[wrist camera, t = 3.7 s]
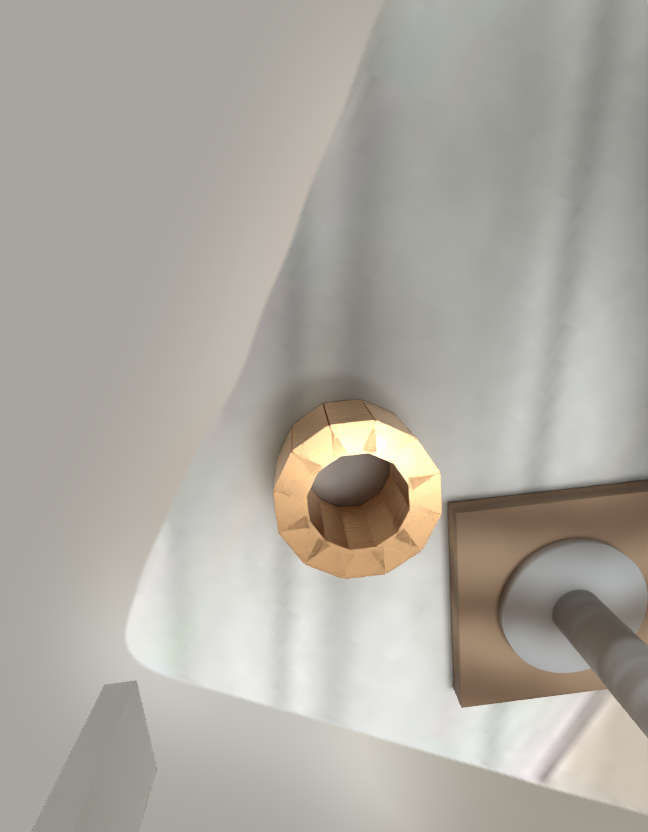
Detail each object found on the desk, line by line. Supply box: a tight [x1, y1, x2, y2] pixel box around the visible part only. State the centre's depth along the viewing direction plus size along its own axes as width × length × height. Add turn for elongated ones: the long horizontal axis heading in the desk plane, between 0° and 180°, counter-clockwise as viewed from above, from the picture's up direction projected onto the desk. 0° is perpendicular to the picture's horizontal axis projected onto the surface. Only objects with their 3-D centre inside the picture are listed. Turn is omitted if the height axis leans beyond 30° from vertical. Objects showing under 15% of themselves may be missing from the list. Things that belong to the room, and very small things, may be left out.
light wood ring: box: [273, 399, 442, 579], centre depth 25 cm, size 8×8×5 cm
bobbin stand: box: [448, 480, 648, 738], centre depth 24 cm, size 14×14×13 cm
